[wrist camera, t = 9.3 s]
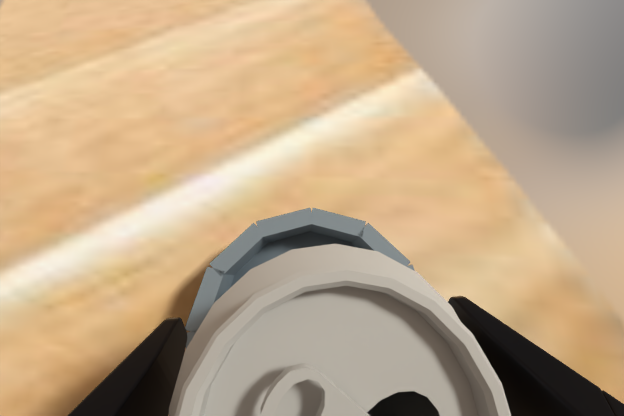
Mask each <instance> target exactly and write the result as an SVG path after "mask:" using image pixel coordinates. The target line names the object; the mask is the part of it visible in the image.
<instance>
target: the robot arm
mask: <svg viewBox="0 0 624 416" xmlns="http://www.w3.org/2000/svg"><path fill="white" fill-rule="evenodd" d="M448 303H449V304H450V305H451V306H452V308H453V309H454V311H455V313H456V314H457V316H458V318H459V320H460V321H461V323H462V324H463V325H464V326H465V327H466V328H467V329H468V330H469V331H470V332H471V333H472V334H473V335H474V337H475V339H476V340H477V342H478V344H479V345H480V347H481V349H482V351H483V352H484V354H485V356H486V357H487V359H488V361H489V363H490V364H491V366H492V368H493V369H494V371H495V373H496V374H497V376H498V378H499V380H500V381H501V383H502V386H503V389H504V393H505V396H506V399H507V403H508V406H509V410H510V413H511V416H624V404H623V403H621V402H620V401H618V400H617V399H615V398H614V397H612V396H611V395H609V394H608V393H606V392H605V391H601V389H600V388H599V387H597V386H596V385H594V384H593V383H592V382H590V381H589V380H587V379H586V378H584V377H583V376H581V375H580V374H578V373H577V372H575V371H574V370H572V369H571V368H569V367H568V366H566V365H565V364H563V363H562V362H560V361H559V360H557V359H556V358H554V357H553V356H551V355H550V354H549V353H547V352H546V351H544V350H543V349H541V348H540V347H538V346H537V345H535V344H534V343H532V342H531V341H529V340H528V339H526V338H525V337H523V336H522V335H520V334H519V333H517V332H516V331H514V330H513V329H511V328H510V327H509V326H507V325H506V324H504V323H503V322H501V321H500V320H498V319H497V318H495V317H494V316H492V315H491V314H489V313H488V312H486V311H485V310H483V309H482V308H480V307H479V306H477V305H476V304H474V303H473V302H471V301H470V300H468V299H467V298H465V297H463V296H457V297H451V298H450V299H449V302H448ZM186 343H187V332H186V329H185V327H184V324H183V322H182V319H181V318H168V319H166V320H164V321H163V322H162V323H161V324H160V325H159V326H158V327H157V328H156V329H155V330H154V331H153V332H152V333H151V334H150V335H149V336H148V337H147V338H146V339H145V340H144V341H143V342H142V343H141V344H140V345H139V346H138V347H137V348H136V349H135V350H134V351H133V352H132V353H131V354H130V355H129V356H128V357H127V358H126V359H124V360H123V361H122V362H121V363H120V364H119V365H118V366H117V367H116V368H115V369H114V370H113V371H112V372H111V373H110V374H109V375H108V376H107V377H106V378H105V379H104V380H103V381H102V382H101V383H100V384H99V385H98V386H97V387H96V388H95V389H94V390H93V391H92V392H91V393H90V394H89V395H88V396H87V397H86V398H85V399H84V400H83V401H82V402H81V403H80V404H79V405H78V406H77V407H76V408H75V409H74V410H73V411H72V412H71V413H70V414H69V415H68V416H168V414H169V406H170V403H171V399H172V396H173V392H174V388H175V385H176V381H177V378H178V374H179V371H180V367H181V364H182V360H183V357H184V352H185V348H186Z"/></svg>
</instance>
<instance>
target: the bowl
mask: <svg viewBox="0 0 624 416" xmlns="http://www.w3.org/2000/svg"><path fill="white" fill-rule="evenodd" d="M256 222H257V226H256V225H255V224H254V223H253V224H252V225H251V226H250V227H249V228H248V229H246V230H245V231H244V232H243V233H242V234H241V235H240V236H239V237H238V238H237V239H236V240H235V241H233V242H232V243H231V244H230V245H229V246H228V247H227V248H226V249H225V250H224V251H223V252H222V253H220V254H219V255H218V256H217V257H216V258H215V259H214V260H213V261H212V262H211V263H210V265H211V266H212V267H207V269H206V272H205V274H204V277H203V280H202V283H201V285H200V288H199V291H198V293H197V296H196V299H195V302H194V304H193V307H192V310H191V313H190V315H189V318H188V321H187V324H186V326H185V329H186V330H187V331H188V332H187V343H186V348H187V347H188V345H189V343H190V342H191V340H192V338H193V337H194V335H195V333H196V332H197V330H198V328H199V327H200V325H201V324H202V322H203V320H204V319H205V317H206V315H207V314H208V312H209V310H210V309H211V307H212V305H213V304H214V303H215V302H216V301H217V300H218V299H219V298H220V297H221V296H222V295H223V294H224V293H225V292H226V291H228V290H229V289H230V288H231V287H232V286H233V285H234V284H235V283H236V282H237V281H238V280H239V279H241V278H242V277H243V276H244V275H245V274H246V273H247V272H248V271H249V270H250V269H252V268H254V267H256V266H258V265H261V264H263V263H265V262H267V261H269V260H271V259H273V258H275V257H277V256H279V255H281V254H284V253H286V252H288V251H290V250H292V249H299V248H306V247H314V246H321V245H329V244H340V245H346V246H351V247H356V248H362V249H367V250H373V251H378V252H380V253H382V254H384V255H386V256H387V257H389V258H391V259H393V260H395V261H397V262H399V263H401V264H402V265H404V266H406V267H408V268H410V269H412V270H414V268H413V265H408V264H409V263H410V261H409V260H408V259H407V258H406V257H405V256H404V255H403V254H401V253H400V252H399V251H398V250H397V249H396V248H395V247H394V246H393V245H392V244H391V243H390V242H388V241H387V240H386V239H385V238H384V237H383V236H382V235H381V234H380V233H379V232H378V231H377V230H375V229H374V228H373V227H372V226H371V225H370V224H369V223H367V224H366V225H365V222H366V221H362V220H358V219H354V218H350V217H347V216H343V215H339V214H335V213H331V212H327V211H324V210H320V209H316V208H313V209H312V213H311V209H310V208H307V209H303V210H299V211H295V212H291V213H288V214H284V215H280V216H276V217H272V218H268V219H264V220H260V221H256ZM414 271H415V270H414Z"/></svg>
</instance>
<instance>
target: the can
mask: <svg viewBox="0 0 624 416" xmlns="http://www.w3.org/2000/svg"><path fill="white" fill-rule="evenodd" d="M169 416H511V413H510V410H509V406H508V403H507V399H506V396H505V393H504V389H503V386H502V383H501V381H500V380H499V378H498V376H497V374H496V373H495V371H494V369H493V368H492V366H491V364H490V363H489V361H488V359H487V357H486V356H485V354H484V352H483V351H482V349H481V347H480V345H479V344H478V342H477V340H476V339H475V337H474V335H473V334H472V333H471V332H470V331H469V330H468V329H467V328H466V327H465V326H464V325H463V324H462V323H461V321H460V320H459V318H458V316H457V314H456V313H455V311H454V309H453V308H452V306H451V305H450V304H449V303H448V302H447V301H446V300H445V299H444V298H443V297H442V296H441V295H440V294H439V293H438V292H437V291H436V290H435V289H434V288H433V287H432V286H431V285H430V284H429V283H428V282H427V281H426V280H425V279H424V278H423V277H422V276H421V275H419V274H418V273H417V272H416V271H414V270H412V269H410V268H408V267H406V266H404V265H402V264H401V263H399V262H397V261H395V260H393V259H391V258H389V257H387V256H386V255H384V254H382V253H380V252H378V251H373V250H367V249H362V248H356V247H351V246H346V245H340V244H329V245H321V246H314V247H306V248H299V249H292V250H290V251H288V252H286V253H284V254H281V255H279V256H277V257H275V258H273V259H271V260H269V261H267V262H265V263H263V264H261V265H258V266H256V267H254V268H252V269H250V270H249V271H248V272H247V273H246V274H245V275H244V276H243V277H242V278H241V279H239V280H238V281H237V282H236V283H235V284H234V285H233V286H232V287H231V288H230V289H229V290H228V291H226V292H225V293H224V294H223V295H222V296H221V297H220V298H219V299H218V300H217V301H216V302H215V303H214V304H213V305H212V307H211V309H210V310H209V312H208V314H207V315H206V317H205V319H204V320H203V322H202V324H201V325H200V327H199V328H198V330H197V332H196V333H195V335H194V337H193V338H192V340H191V342H190V343H189V345H188V347H187V348H186V350H185V353H184V357H183V360H182V364H181V367H180V371H179V374H178V378H177V381H176V385H175V388H174V392H173V396H172V399H171V403H170V406H169Z"/></svg>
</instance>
